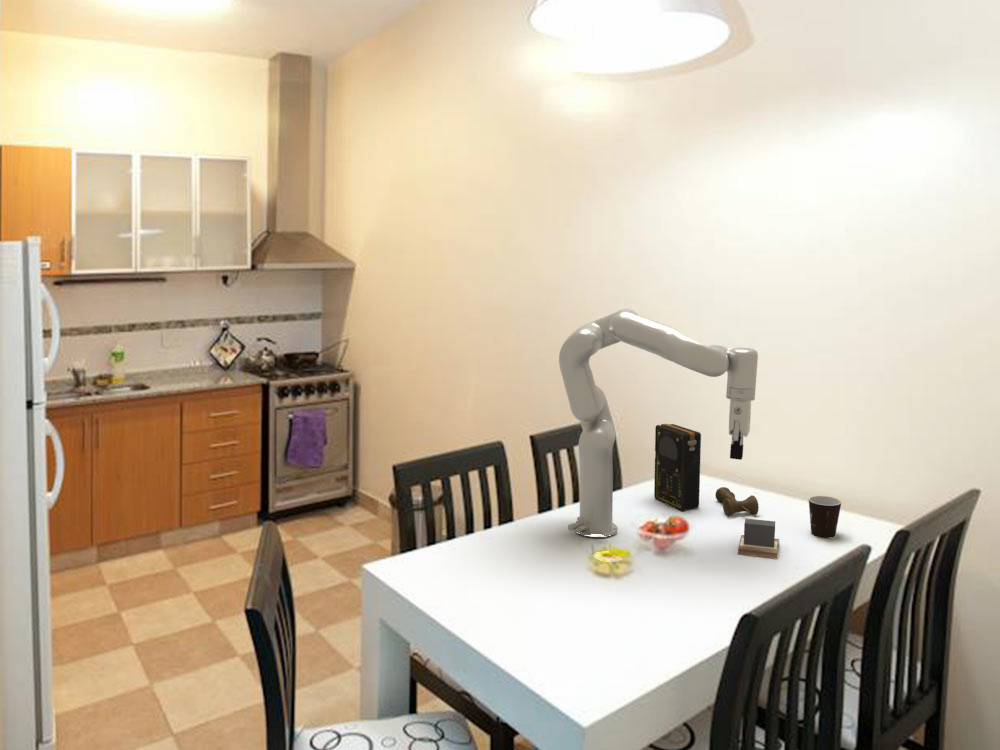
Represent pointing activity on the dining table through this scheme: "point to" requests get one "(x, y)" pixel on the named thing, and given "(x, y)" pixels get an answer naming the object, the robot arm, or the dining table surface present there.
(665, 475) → the voltmeter
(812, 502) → the coffee mug
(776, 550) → the pin board
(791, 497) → the dining table surface
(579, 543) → the dining table surface
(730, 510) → the kendama
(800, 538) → the dining table surface
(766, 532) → the plug housing
